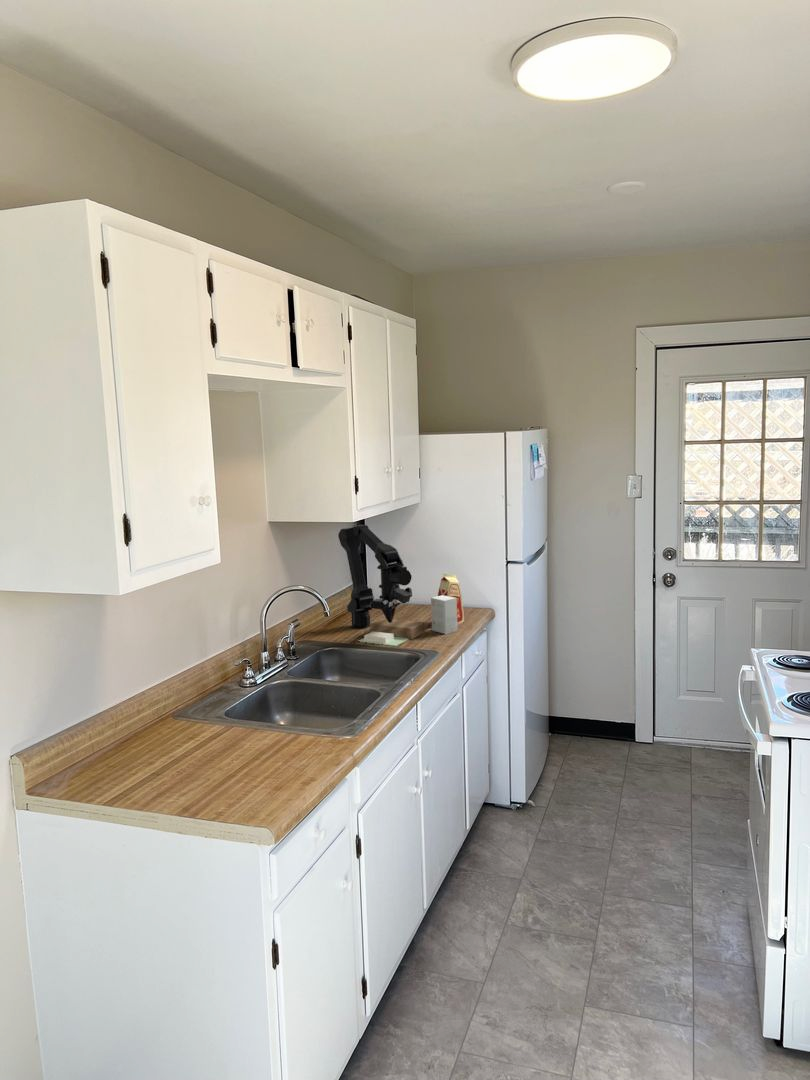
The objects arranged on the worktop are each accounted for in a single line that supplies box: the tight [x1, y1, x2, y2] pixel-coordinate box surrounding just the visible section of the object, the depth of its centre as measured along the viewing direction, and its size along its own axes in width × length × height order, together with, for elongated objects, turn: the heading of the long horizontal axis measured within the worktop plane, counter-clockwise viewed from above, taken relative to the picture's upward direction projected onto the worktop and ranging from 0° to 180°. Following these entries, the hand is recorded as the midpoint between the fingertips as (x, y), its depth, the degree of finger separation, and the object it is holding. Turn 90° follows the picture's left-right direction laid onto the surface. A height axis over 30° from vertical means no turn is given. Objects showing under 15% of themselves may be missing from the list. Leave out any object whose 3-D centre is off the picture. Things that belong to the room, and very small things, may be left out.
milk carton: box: [437, 573, 465, 625], centre depth 319 cm, size 9×9×20 cm
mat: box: [358, 637, 410, 647], centre depth 296 cm, size 16×10×1 cm, turn 61°
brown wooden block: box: [369, 617, 425, 640], centre depth 305 cm, size 18×10×4 cm, turn 61°
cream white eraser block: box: [363, 632, 394, 643], centre depth 296 cm, size 9×6×2 cm, turn 61°
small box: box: [430, 595, 458, 635], centre depth 306 cm, size 8×6×13 cm
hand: (390, 622), depth 302 cm, fingers closed
